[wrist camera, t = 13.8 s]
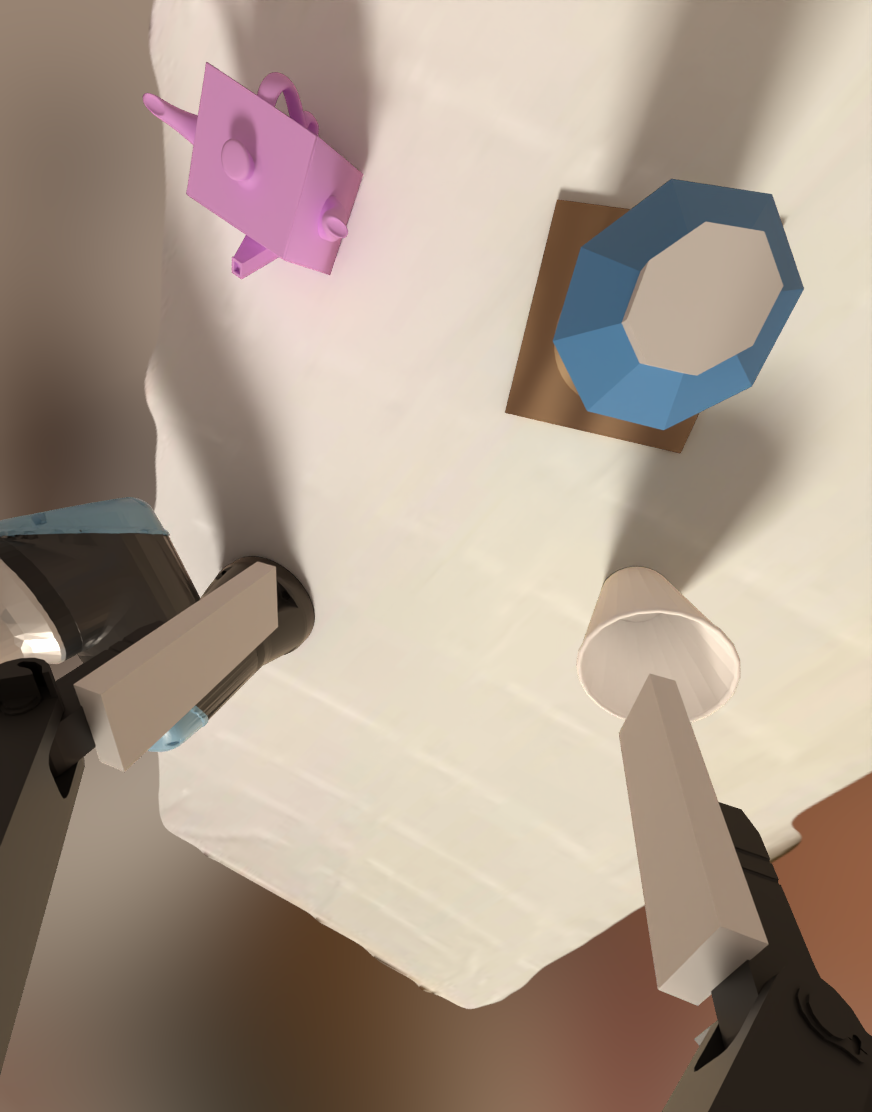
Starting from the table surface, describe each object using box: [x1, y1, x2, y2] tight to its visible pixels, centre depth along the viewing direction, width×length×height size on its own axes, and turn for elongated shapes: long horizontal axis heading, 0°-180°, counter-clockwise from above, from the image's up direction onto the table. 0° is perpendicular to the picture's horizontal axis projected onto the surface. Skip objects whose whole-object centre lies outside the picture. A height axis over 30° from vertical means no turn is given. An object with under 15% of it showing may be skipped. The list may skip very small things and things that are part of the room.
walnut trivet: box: [505, 200, 699, 453], centre depth 35 cm, size 16×16×1 cm
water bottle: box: [553, 179, 804, 430], centre depth 24 cm, size 9×9×25 cm
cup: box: [576, 567, 740, 723], centre depth 39 cm, size 12×12×12 cm
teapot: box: [143, 62, 363, 279], centre depth 34 cm, size 18×13×10 cm
